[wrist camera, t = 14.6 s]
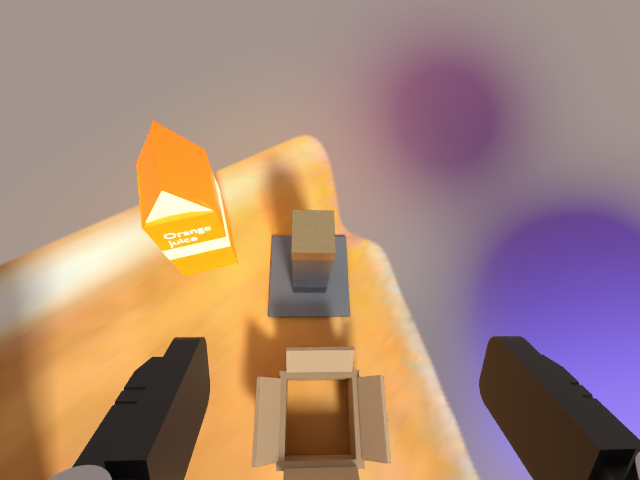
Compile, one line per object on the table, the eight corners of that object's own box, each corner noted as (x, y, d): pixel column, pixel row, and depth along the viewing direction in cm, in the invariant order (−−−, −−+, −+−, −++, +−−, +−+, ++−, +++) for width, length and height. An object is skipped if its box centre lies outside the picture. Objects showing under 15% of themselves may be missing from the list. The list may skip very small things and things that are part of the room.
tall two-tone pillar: (293, 292, 48) (291, 252, 35) (294, 259, 50) (292, 210, 37) (325, 292, 48) (335, 253, 35) (325, 259, 50) (334, 210, 37)
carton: (257, 488, 38) (249, 506, 31) (264, 355, 44) (258, 347, 37) (378, 484, 39) (395, 501, 32) (368, 354, 45) (381, 346, 38)
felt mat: (268, 316, 46) (268, 316, 46) (272, 236, 51) (272, 235, 51) (349, 316, 47) (350, 316, 47) (345, 237, 52) (345, 236, 52)
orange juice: (183, 276, 48) (114, 200, 30) (176, 222, 52) (110, 125, 34) (239, 263, 49) (205, 181, 31) (228, 211, 53) (192, 112, 35)
